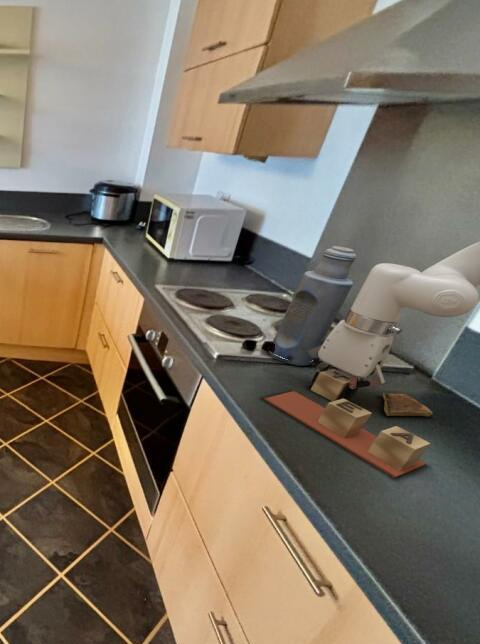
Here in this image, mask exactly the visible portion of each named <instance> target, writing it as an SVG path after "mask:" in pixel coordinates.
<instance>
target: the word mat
mask: <svg viewBox="0 0 480 644" xmlns="http://www.w3.org/2000/svg"><path fill="white" fill-rule="evenodd" d="M263 400H264V401H265V402H267V403H268V404H270V405H272V406H274V407H275V408H277V409H279V410H280V411H282V412H284V413H285V414H287V415H289V416H290V417H292V418H293V419H295V420H297V421H298V422H300V423H302V424H304V426H307V427H309V428H310V429H311V430H313V431H315V432H317V433H318V434H320V435H321V436H323V437H325V438H327V439H328V440H330V441H332V442H333V443H335V444H336V445H338V446H340V447H341V448H343V449H345V450H347V451H348V452H350V453H352V454H353V455H355V456H357V457H358V458H360V459H362V460H363V461H365V462H367V463H368V464H370V465H372V466H373V467H375V468H377V469H378V470H380V471H381V472H383V473H385V474H386V475H388V476H390V477H392V478H393V479H396V478H399V477H401V476H404V475H405V474H408V473H410V472H412V471H413V472H414V471H415V470H417V469H420V468H422V467H425V466H426V465H427V463H426V462H424V461H422V460H421V459H419V460H418V461H417V462H416V464H415V465H412V466H410V467H408V468H405V469H403V470H400V471H399V470H398V469H396V468H394V467H393V466H391V465H389V464H387V463H386V462H384V461H382V460H381V459H379V458H377V457H375V456H374V455H372V454H370V453H369V452H368V450H369V449H370V447H371V446H372V444H373V443H374V441H375V440H376V438H377V437H378V436H377V435H376V434H373V433H372V432H370V431H368V430H366V429H364V428H362V429H361V431H360V433H358V434H355V435H352V436H349V437H346V438H343V437H342V436H340V435H338V434H337V433H335V432H333V431H331V430H330V429H328V428H326V427H325V426H323V425H321V424H319V423H318V420H319V419H320V417H321V415H322V413H323V412H324V410H325V408H326V407H324V406H322V405H320V404H318V403H317V402H315V401H313V400H311V399H309V398H308V397H306V396H304V395H302V394H300V393H298V392H296V391H295V390H293V391H288V392H284V393H280V394H277V395H272V396H268V397H265V398H264V399H263Z"/></svg>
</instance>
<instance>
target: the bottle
mask: <svg viewBox="0 0 480 644" xmlns="http://www.w3.org/2000/svg"><path fill="white" fill-rule="evenodd" d="M357 258H358V255H357V254H356V253H355V251H354V249H352V248H349V247H345V246H338V245H332V246H331V247H330V248H327V249H325V250H324V251H323V253H322V257H321V258H320V260H319V262H318V264H317V265H316V267H315V268H314V270H307V271H305V272H304V273H303V275H302V277H301V279H300V282H299V283H298V286H297V288H296V290H295V292H294V294H293V296H292V298H291V301H290V303H289V305H288V307H287V309H286V311H285V313H284V315H283V318H282V320H281V322H280V324H279V327H278V329H277V331H276V333H275V336H274V338H273V340H272V342H273V343H274V344H275V351H274V354H276V355H278V356H281V357H283V358H285V359H288V360H289V361H288V360H285V359H282V358H280V357H278V356H276V355H274V354H273V353H272V352H271V351H269V350H268V353H269V355H270V356H272V357H273V358H274V359H276V360H277V361H280V362H283V363H285V364H289V365H292V366H298V367H306V366H310V365H311V364H312V362H313V361H312V360H313V359H312V358H311V356H310V354H309V353H308V351H309V350H311V349H313V348H316V347H319V346H321V345H323V343H324V341H325V339H326V336H328V332H329V331H330V329H331V327H332V325H333V323H334V321H335V320H336V317H337V316H338V314H339V312H340V310H341V309H342V307H343V305H344V303H345V301H346V300H347V297H348V295H349V293H350V291H351V289H352V288H353V286H354V282H353V281H352V280H351V279H349V278H348V276H349V274H350V272H351V271H350V270H351V267H352V265H353V263H354V262H355V261H356V259H357ZM310 361H312V362H311V363H308V362H310Z"/></svg>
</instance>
